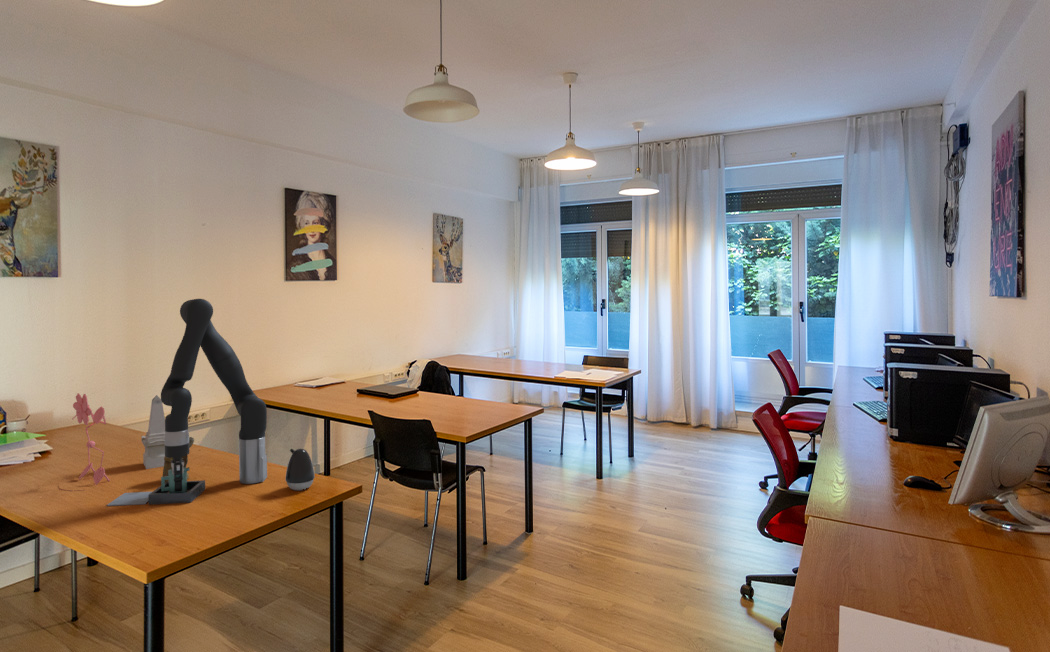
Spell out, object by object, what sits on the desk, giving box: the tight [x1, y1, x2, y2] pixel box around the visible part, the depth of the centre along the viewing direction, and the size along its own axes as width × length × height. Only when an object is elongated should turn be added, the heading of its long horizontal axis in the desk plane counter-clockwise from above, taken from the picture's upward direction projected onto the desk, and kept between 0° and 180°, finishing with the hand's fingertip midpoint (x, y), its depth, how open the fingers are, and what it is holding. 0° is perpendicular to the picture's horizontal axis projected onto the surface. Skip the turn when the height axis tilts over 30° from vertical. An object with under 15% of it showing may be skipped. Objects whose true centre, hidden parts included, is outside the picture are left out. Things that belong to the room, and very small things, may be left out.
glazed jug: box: [160, 466, 190, 493], centre depth 200 cm, size 9×6×10 cm, turn 124°
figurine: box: [59, 393, 110, 492], centre depth 212 cm, size 15×26×35 cm, turn 59°
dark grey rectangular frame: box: [148, 479, 206, 506], centre depth 201 cm, size 13×13×4 cm
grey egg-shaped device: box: [285, 448, 316, 491], centre depth 211 cm, size 10×10×15 cm
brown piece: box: [161, 436, 195, 482], centre depth 218 cm, size 9×14×18 cm, turn 69°
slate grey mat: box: [106, 491, 153, 507], centre depth 198 cm, size 12×12×1 cm
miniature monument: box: [140, 394, 166, 470], centre depth 238 cm, size 10×10×30 cm
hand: (178, 488), depth 201 cm, fingers closed on glazed jug, 5 cm apart
